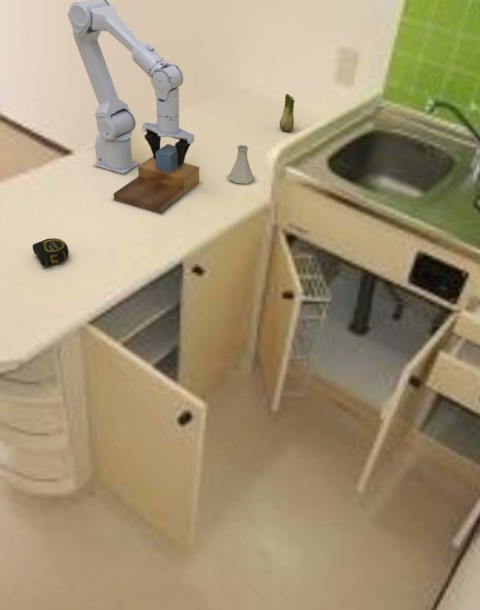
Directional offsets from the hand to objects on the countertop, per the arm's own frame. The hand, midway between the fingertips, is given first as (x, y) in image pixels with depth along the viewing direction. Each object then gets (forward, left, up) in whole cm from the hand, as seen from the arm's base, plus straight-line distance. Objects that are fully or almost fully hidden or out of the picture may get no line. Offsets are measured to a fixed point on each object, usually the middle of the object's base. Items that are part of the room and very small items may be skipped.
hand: (168, 161), depth 177 cm
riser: (0, -6, -6) cm, 9 cm away
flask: (+16, +13, -7) cm, 22 cm away
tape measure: (-3, -48, -7) cm, 48 cm away
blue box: (0, 0, -2) cm, 2 cm away
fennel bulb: (-18, +45, -3) cm, 49 cm away
